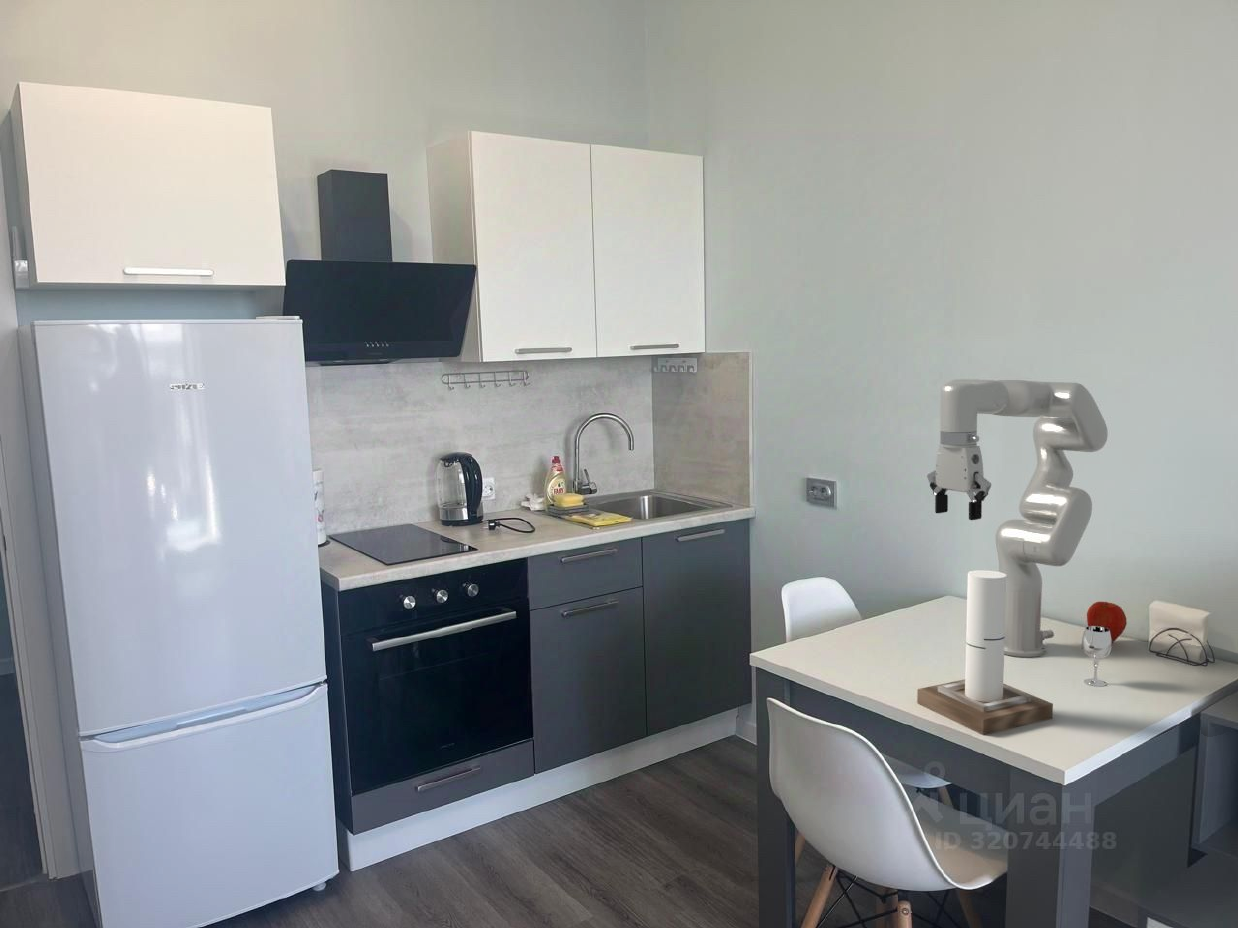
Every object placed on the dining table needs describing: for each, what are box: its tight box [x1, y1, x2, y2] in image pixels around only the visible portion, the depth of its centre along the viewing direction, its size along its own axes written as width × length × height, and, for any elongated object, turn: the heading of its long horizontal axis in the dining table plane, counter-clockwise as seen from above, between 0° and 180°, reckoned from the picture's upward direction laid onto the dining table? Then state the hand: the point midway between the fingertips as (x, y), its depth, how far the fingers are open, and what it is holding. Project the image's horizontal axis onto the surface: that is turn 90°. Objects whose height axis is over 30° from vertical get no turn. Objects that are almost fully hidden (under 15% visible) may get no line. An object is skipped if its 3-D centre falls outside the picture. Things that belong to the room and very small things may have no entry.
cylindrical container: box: [964, 569, 1006, 702], centre depth 188 cm, size 7×7×25 cm
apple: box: [1086, 601, 1128, 644], centre depth 228 cm, size 9×8×11 cm
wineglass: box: [1081, 625, 1113, 687], centre depth 202 cm, size 6×6×12 cm
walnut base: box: [916, 678, 1054, 736], centre depth 189 cm, size 18×18×4 cm
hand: (957, 515), depth 207 cm, fingers open, 9 cm apart
